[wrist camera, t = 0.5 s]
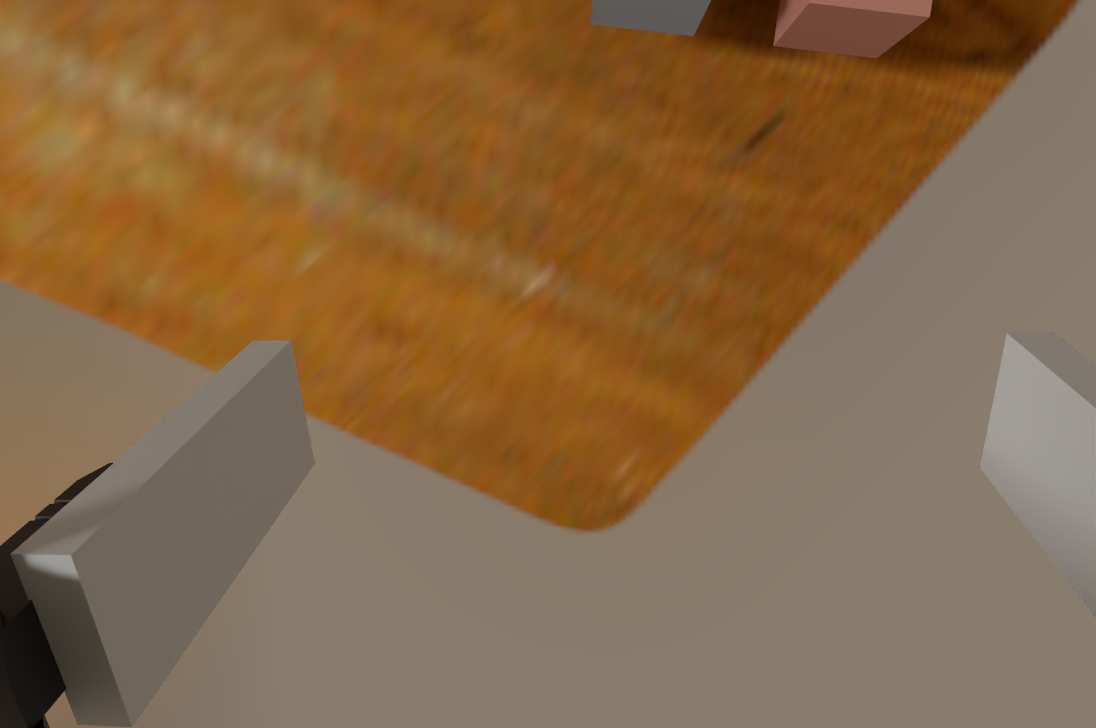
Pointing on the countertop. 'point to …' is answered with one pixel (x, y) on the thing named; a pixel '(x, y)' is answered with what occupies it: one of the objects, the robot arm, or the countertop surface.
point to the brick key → (848, 24)
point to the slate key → (651, 15)
